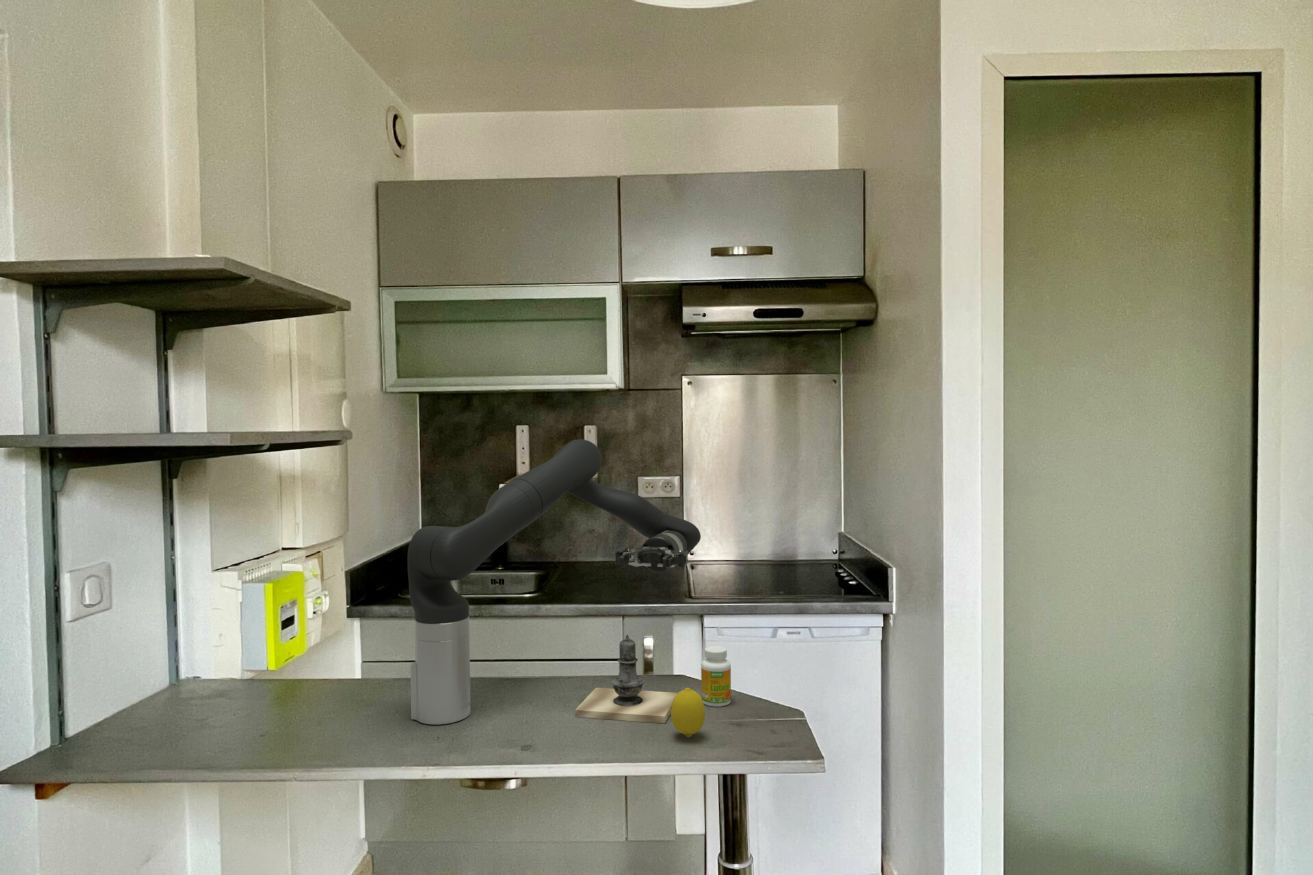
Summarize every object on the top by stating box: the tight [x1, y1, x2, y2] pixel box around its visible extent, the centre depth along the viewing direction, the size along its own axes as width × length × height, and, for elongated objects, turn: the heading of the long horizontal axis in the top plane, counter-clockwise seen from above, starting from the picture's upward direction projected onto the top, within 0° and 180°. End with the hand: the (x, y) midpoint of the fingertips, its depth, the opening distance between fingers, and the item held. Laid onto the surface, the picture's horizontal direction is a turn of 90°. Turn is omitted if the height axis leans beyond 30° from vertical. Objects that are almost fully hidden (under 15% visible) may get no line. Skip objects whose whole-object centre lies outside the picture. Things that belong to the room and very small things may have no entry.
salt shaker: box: [611, 633, 645, 706], centre depth 137 cm, size 6×6×12 cm
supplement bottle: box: [700, 645, 732, 708], centre depth 139 cm, size 5×5×10 cm
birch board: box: [574, 687, 679, 724], centre depth 137 cm, size 16×12×1 cm
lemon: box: [670, 687, 706, 738], centre depth 123 cm, size 6×6×8 cm
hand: (643, 562), depth 147 cm, fingers open, 8 cm apart
